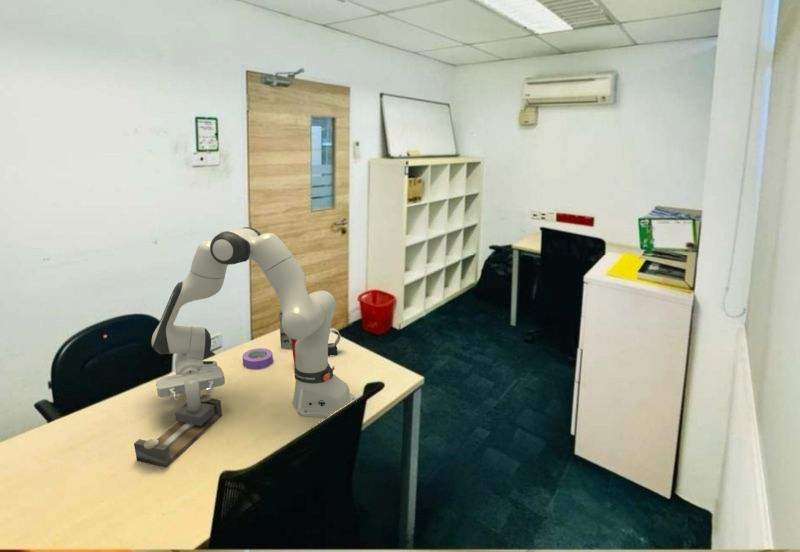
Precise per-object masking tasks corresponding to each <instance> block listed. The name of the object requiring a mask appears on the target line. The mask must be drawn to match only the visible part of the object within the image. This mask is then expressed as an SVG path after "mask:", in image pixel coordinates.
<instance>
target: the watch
mask: <svg viewBox="0 0 800 552" xmlns="http://www.w3.org/2000/svg"><path fill="white" fill-rule="evenodd" d="M330 332H336V333H337V338H336V339H335V342H331V343H329V342H328V357H331V356H330V355H334V356H338V347H337V346H338V344H339V343H340V341H341V334H340V332H339V330H338V329H336V328H334V327H331V329H330Z"/></svg>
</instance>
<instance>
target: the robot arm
mask: <svg viewBox="0 0 800 552" xmlns="http://www.w3.org/2000/svg"><path fill="white" fill-rule="evenodd" d="M248 260H252V261H253V262H255V263H256V264H257V265H258V267H259V268H260V270H261V271H262V273H263V274H264V276H265V278H266V279H267V281H268V283H270V285H271V287H272V288H273V291H274V292H275V294H276V296H277V299H278V301H279V305H280V309H281V312H282V328H283V331H284V332H285V334H286V335H287V336H289V337H290V338H292V339H295V340H297V341H296V344H295V362H296V364H295V366H294V380H295V383H294V384H295V386H294V392H293V397H292V400H291V401H292V402H291V403H292V406H293V407H294V409H296V410H297V413H298V415H299V416H303V417H316V418H317V417H319V418H329V417H328V416H330V415H331V414H333V413H334V412H335V411H337V410H339V409H340V408H342V407H344V406H345V405H347V404H348V403H350V402H351V401H353V400H355V399H356V400H357V397H356V395H355V394H353V393H351V392H350V388H349V385H348V383H346V382H345V381H343V380H342V378H340V377H339V376H337V375H336V374H335V373H334V370H335V369H336V368H335V365H333V366H332V367H331V366H330V364H329V356H328V344H329V339H330V334H331V331H330V329H331V328H332V322H333V317H334V314H335V310H336V308H337V301H336V298H335V297H334V296H333V295H332V293H330V292H329V291H327V290H318V291H314V292H311V293H309V291H308V290H307V285H306V280H307V278H306V274H305V273H304V271H303V269H302V267H301V266H300V265H299V263H298V261H297V260H296V258H295V256H293V254H292V252H291V250H290V249H289V248H288V246H287V245H286V244H285V243H284V242H283V241H282V239H280V238H279V236H278V235H276V234H275V233H273V232H265V233H261V232H260V231H258V230H257V229H256V228H252V227H247V226H245V227H238V228H232V229H227V230H226V231H221V232H220V233H218V234H217V235H215V236H214V237H213V238H212V239H209V240H208V239H207V240H204V241H201V242H200V243H199V245H198V246H197V249H196V251H195V253H194V256H193V259H192V261H191V266H190V271H189V273H188V275H187V276H186V277H185V278H184V280H182V281H179V282H178V283H176V285H175V287H174V288H173V290H172V292H171V295H170V297H169V299H168V302H167V304H166V306H165V307H164V311H163V313H162V316H161V318H160V320H159V322H158V325H157V326H156V328H155V330H154V332H153V333H152V337H151V347H152V348H153V350H154V351H155V352H157V353H158V354H160V355H167V354H168V355H171V354H176V356H175V360H174V361H175V363H174V365H175V374H174V375H168V376H164V377H160V379H158V380H157V381H155V386H156V393H157V396H158V398H160V399H161V398H167V397H171V398H174V399H173V401H178V400H180V395H182V394H186V391H185V383H184V382H185V381H186V380H187V379H190V378H197V379H198V382H199V391H201V390H202V391H203V390H206V394H211V393H213V392H212V391H213V390H214V388H217V387H221V386H224V385H226V379H225V374H224V373H225V372H224V371H223V369H222V368H221V367H220V366H219V365H218V362H217V360H206V359H207V357H208V356H209V355H210V352H211V348H212V338H211V337H212V336H211V333H210V332H209V330H208V329H207V328H206V327H203V326H202V327H201V326H200V327H199V326H187V325H176V324H175V322H176V319H177V317H178V314H179V311H180V309H181V308H182V307H183V306H184V305H186V304H188V303H191V302H194V301H199V300H205V299H208V298H211V297H214V295H216V294H218V293H219V292H220V291H221V289H222V288H223V285H224V282H225V278H226V274H227V267H228V266H230V265H236V264H240V263H243V262H248Z"/></svg>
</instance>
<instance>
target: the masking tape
mask: <svg viewBox="0 0 800 552" xmlns="http://www.w3.org/2000/svg"><path fill="white" fill-rule="evenodd" d="M273 358H274V356H273V352H272V350H270V349H269V348H268V349H267V348H264V347H262V348H261V347H260V348H253V349H252V348H251V349H249V350H247V351H245V352H244V353H243V354H242V365H243V367H244V368H246V369H248V370H261V369H266V368H268V367H269V366H272V364H273V362H274V359H273Z"/></svg>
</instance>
